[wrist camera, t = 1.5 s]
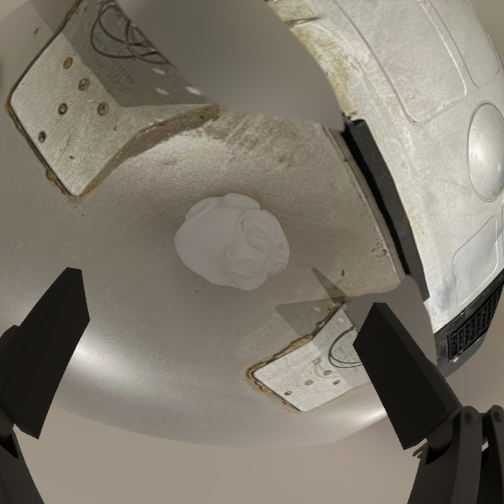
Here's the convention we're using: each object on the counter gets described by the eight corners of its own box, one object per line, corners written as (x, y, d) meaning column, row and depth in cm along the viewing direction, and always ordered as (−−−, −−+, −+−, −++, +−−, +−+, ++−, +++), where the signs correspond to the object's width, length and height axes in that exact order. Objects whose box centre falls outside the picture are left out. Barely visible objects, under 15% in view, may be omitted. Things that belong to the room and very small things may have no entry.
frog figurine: (266, 260, 22) (283, 314, 16) (180, 253, 21) (166, 306, 15) (280, 188, 20) (307, 219, 14) (185, 178, 19) (166, 205, 12)
